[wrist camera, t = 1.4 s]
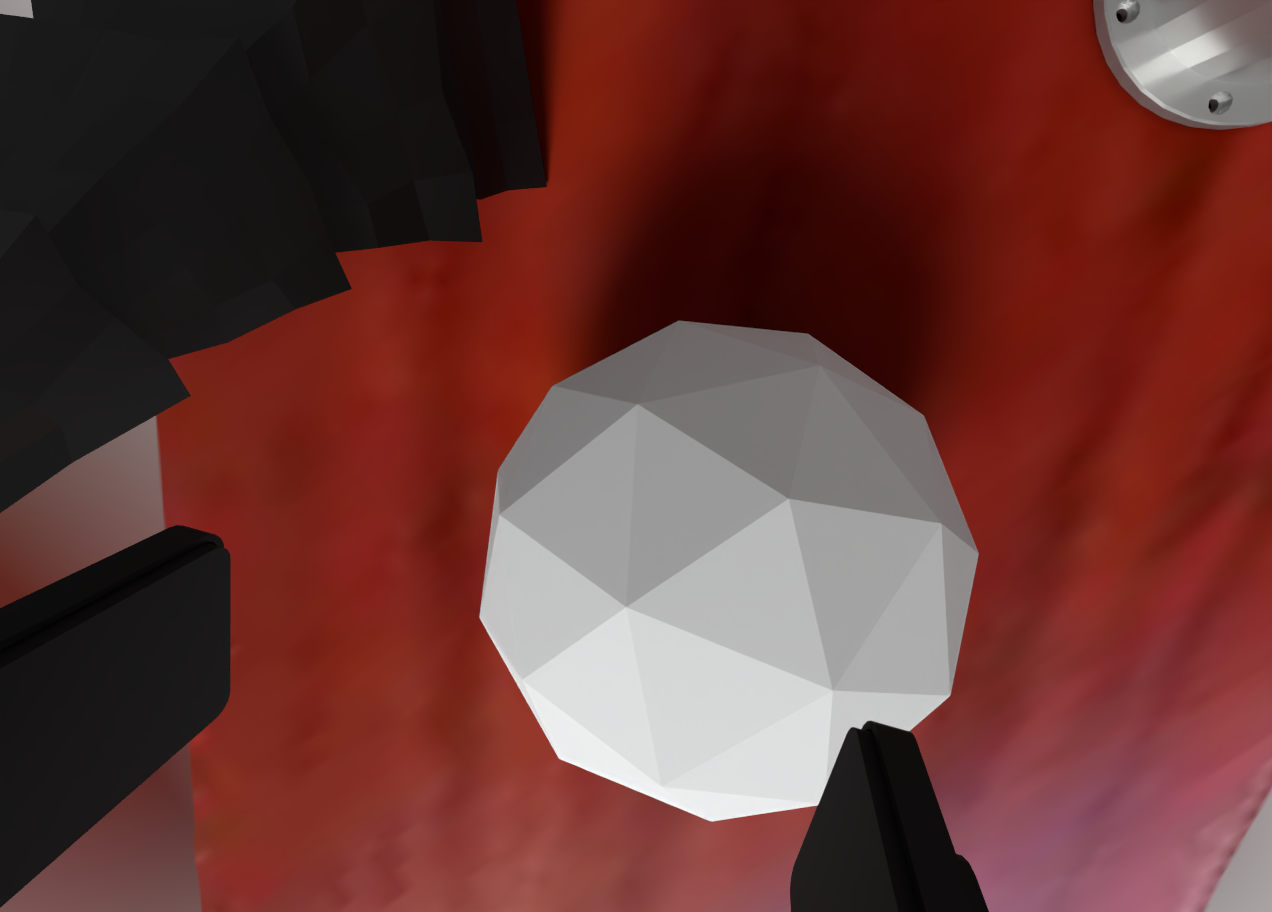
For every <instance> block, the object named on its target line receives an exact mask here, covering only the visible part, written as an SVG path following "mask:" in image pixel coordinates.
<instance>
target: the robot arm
mask: <svg viewBox="0 0 1272 912" xmlns="http://www.w3.org/2000/svg"><path fill="white" fill-rule="evenodd" d="M1093 8H1094V16H1095V24H1096V32H1097V37H1098V40H1099V43H1100V46H1101V48H1102V51H1103V54H1104V57H1105V60H1106V63H1107V64H1108V66H1109V67H1110V69H1111V71H1112V72H1113V74H1114V75H1115V77H1116V79H1117V80H1118V82H1119V83H1120V85H1121V86H1122V87H1123V88H1124V89H1125V90H1126V91H1127V92H1128V93H1129V94H1130V95H1131V96H1132V97H1133V98H1134V99H1135V100H1136V101H1137V102H1138V103H1139V104H1140V105H1142V106H1144V107H1145V108H1147V109H1149V110H1150V111H1152V112H1154V113H1155V114H1157V115H1159V116H1161V117H1162V118H1164V119H1167V120H1171V121H1174V122H1177V123H1180V124H1183V125H1186V126H1189V127H1198V128H1208V129H1218V130H1222V129H1233V128H1244V127H1253V126H1256V125H1260V124H1264V123H1269V122H1272V0H1093ZM1116 13H1119V14H1120V15H1121V17H1122V19H1121V22H1119V21H1118V19H1117V17H1116ZM1209 103H1210V104H1211V110H1209V108H1208V106H1209ZM229 696H230V553H229V552H228V550H227V549H225V548H224V544H223V542H222V540H221V538H220V537H218V536H217V535H214V534H211V533H207V532H204V531H200V530H197V529H193V528H190V527H186V526H179V525H176V526H173V527H170V528H168V529H165V530H163V531H162V532H159V533H157V534H155V535H153V536H151V537H149V538H147V539H144V540H142V541H140V542H138V543H136V544H134V545H132V546H130V547H128V548H126V549H123V550H122V551H119V552H117V553H115V554H113V555H111V556H109V557H107V558H105V559H103V560H101V561H98V562H96V563H94V564H92V565H90V566H88V567H86V568H84V569H82V570H79V571H77V572H75V573H73V574H71V575H69V576H67V577H65V578H63V579H61V580H58V581H56V582H55V583H52V584H50V585H48V586H46V587H44V588H42V589H40V590H38V591H35V592H33V593H31V594H30V595H27V596H25V597H23V598H21V599H19V600H16V601H14V602H13V603H10V604H8V605H6V606H4V607H2V608H0V907H2V906H3V905H4V904H5V903H6V902H7V901H8V900H9V899H11V898H12V897H13V896H14V895H15V894H16V893H18V892H19V891H20V890H21V889H22V888H23V887H24V886H25V885H27V884H28V883H29V882H30V881H31V880H32V879H33V878H35V877H36V876H37V875H38V874H39V873H40V872H41V871H42V870H44V869H45V868H46V867H47V866H48V865H49V864H50V863H52V862H53V861H54V860H55V859H56V858H57V857H59V856H60V855H61V854H62V853H63V852H64V851H65V850H66V849H67V848H69V847H70V846H71V845H72V844H73V843H74V842H75V841H77V840H78V839H79V838H80V837H81V836H82V835H84V833H86V832H87V831H88V830H89V829H90V828H92V826H94V825H95V824H96V823H97V822H98V821H100V820H101V819H102V818H103V817H104V816H105V815H106V814H107V813H109V812H110V811H111V810H112V809H113V808H114V807H115V806H117V805H118V804H119V803H120V802H121V801H122V800H123V799H125V798H126V797H127V796H128V795H129V794H130V793H131V792H133V791H134V790H135V789H136V788H137V787H138V786H139V785H141V784H142V783H143V782H144V781H145V780H146V779H147V778H148V777H150V776H151V775H152V774H153V773H154V772H155V771H156V770H158V769H159V768H160V767H161V766H162V765H163V764H164V763H166V762H167V761H168V760H169V759H170V758H171V757H172V756H173V755H175V754H176V753H177V752H178V751H179V750H180V749H181V748H183V747H184V746H185V745H186V744H187V743H188V742H189V741H191V740H192V739H193V738H194V737H195V736H196V735H197V734H199V733H200V732H201V731H202V730H203V729H204V728H205V727H207V726H208V725H209V724H210V723H211V722H212V721H213V720H215V719H216V718H217V717H218V716H219V714H220V713H221V712H222V710H223V709H224V707H225V706H226V704H227V702H228V699H229ZM790 900H791V912H989V911H988V908H987V905H986V903H985V900H984V897H983V895H982V892H981V889H980V886H979V884H978V881H977V878H976V876H975V874H974V872H973V870H972V868H971V866H970V864H969V862H968V861H967V860H966V859H965V858H964V857H963V856H961V855H958V854H956V853H955V850H954V847H953V844H952V841H951V839H950V836H949V833H948V830H947V827H946V824H945V821H944V819H943V816H942V813H941V810H940V807H939V804H938V801H937V798H936V796H935V793H934V790H933V787H932V784H931V781H930V778H929V776H928V773H927V770H926V767H925V764H924V761H923V758H922V756H921V753H920V750H919V747H918V744H917V741H916V739H915V737H914V735H913V734H912V733H911V732H909V731H906V730H902V729H899V728H895V727H892V726H888V725H885V724H881V723H878V722H874V721H867V722H866V723H865V724H864V725H863V727H862V729H859V728H855V727H851V728H850V729H849V730H848V732H847V734H846V737H845V739H844V742H843V744H842V747H841V749H840V752H839V754H838V757H837V759H836V762H835V764H834V767H833V769H832V772H831V774H830V777H829V779H828V782H827V784H826V787H825V789H824V792H823V794H822V797H821V799H820V802H819V804H818V807H817V809H816V812H815V814H814V817H813V819H812V822H811V824H810V827H809V829H808V832H807V834H806V837H805V839H804V842H803V844H802V847H801V849H800V852H799V854H798V857H797V859H796V862H795V864H794V867H793V872H792V877H791V885H790Z"/></svg>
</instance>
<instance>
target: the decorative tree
mask: <svg viewBox="0 0 1272 912" xmlns="http://www.w3.org/2000/svg"><path fill="white" fill-rule="evenodd" d="M31 3H32V11H33V18H26V17H20V16H11V15H4V14H0V513H1V512H2V511H4V510H5V509H7V508H8V507H10V506H11V505H12V504H14V503H15V502H17V501H18V500H20V499H21V498H22V497H24V496H25V495H27V494H28V493H29V492H31V491H32V490H34V489H35V488H37V487H38V486H40V485H41V484H42V483H44V482H45V481H47V480H48V479H50V478H51V477H52V476H54V475H55V474H57V473H58V472H60V471H61V470H62V469H64V468H65V467H67V466H68V465H69V464H71V463H72V462H74V461H76V460H78V459H80V458H81V457H83V456H85V455H86V454H88V453H90V452H92V451H94V450H95V449H97V448H99V447H100V446H103V445H104V444H106V443H108V442H109V441H111V440H113V439H115V438H117V437H118V436H120V435H122V434H124V433H125V432H127V431H129V430H131V429H133V428H134V427H136V426H138V425H140V424H141V423H143V422H145V421H147V420H149V419H150V418H152V417H154V416H156V415H157V414H159V413H161V412H163V411H164V410H166V409H168V408H170V407H172V406H173V405H175V404H177V403H179V402H180V401H182V400H184V399H186V398H187V397H189V396H191V395H190V394H189V392H188V391H187V389H186V387H185V386H184V384H183V383H182V381H181V379H180V378H179V376H178V374H177V373H176V371H175V370H174V368H173V366H172V365H171V363H170V362H169V360H168V359H170V358H174V357H177V356H181V355H184V354H188V353H192V352H195V351H199V350H202V349H206V348H210V347H213V346H217V345H220V344H224V343H228V342H230V341H232V340H234V339H236V338H238V337H240V336H242V335H244V334H246V333H248V332H250V331H252V330H254V329H256V328H258V327H260V326H262V325H264V324H266V323H269V322H271V321H273V320H275V319H277V318H279V317H281V316H283V315H285V314H287V313H289V312H291V311H293V310H295V309H298V308H300V307H303V306H306V305H309V304H311V303H314V302H317V301H320V300H322V299H325V298H328V297H331V296H333V295H336V294H339V293H342V292H344V291H347V290H350V289H351V286H350V284H349V282H348V280H347V278H346V275H345V273H344V271H343V269H342V267H341V265H340V262H339V260H338V258H337V256H336V254H335V253H336V252H345V251H354V250H363V249H372V248H381V247H388V246H395V245H401V244H408V243H415V242H422V241H429V240H432V241H463V242H482V236H481V229H480V222H479V215H478V208H477V201H476V199H479V200H481V199H484V198H487V197H490V196H493V195H495V194H498V193H501V192H504V191H507V190H517V189H528V188H540V187H547V186H546V180H545V174H544V168H543V162H542V157H541V151H540V145H539V139H538V133H537V127H536V121H535V115H534V109H533V102H532V96H531V90H530V83H529V77H528V71H527V64H526V58H525V51H524V45H523V39H522V32H521V26H520V20H519V14H518V9H517V4H516V0H31Z"/></svg>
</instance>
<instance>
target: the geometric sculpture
mask: <svg viewBox="0 0 1272 912" xmlns="http://www.w3.org/2000/svg"><path fill="white" fill-rule="evenodd" d="M978 555H979V553H978V551H977V548H976V546H975V543H974V541H973V538H972V536H971V533H970V531H969V528H968V526H967V523H966V520H965V518H964V515H963V513H962V510H961V508H960V505H959V503H958V500H957V498H956V495H955V493H954V490H953V488H952V485H951V483H950V480H949V478H948V475H947V473H946V470H945V467H944V465H943V462H942V460H941V457H940V455H939V452H938V450H937V447H936V445H935V442H934V440H933V437H932V435H931V432H930V430H929V427H928V425H927V422H926V420H925V417H924V415H922V414H921V413H920V412H918V411H917V410H915V409H914V408H913V407H911V406H910V405H908V404H907V403H905V402H904V401H903V400H901V399H900V398H898V397H897V396H896V395H894V394H893V393H891V392H890V391H888V390H887V389H886V388H884V387H883V386H881V385H880V384H879V383H877V382H876V381H874V380H873V379H871V378H870V377H869V376H867V375H866V374H864V373H863V372H862V371H860V370H859V369H857V368H856V367H854V366H853V365H852V364H850V363H849V362H847V361H846V360H845V359H843V358H842V357H840V356H839V355H837V354H836V353H835V352H833V351H832V350H830V349H829V348H828V347H826V346H825V345H823V344H822V343H821V342H819V341H818V340H816V339H815V338H813V337H812V336H811V335H809V334H805V333H796V332H786V331H776V330H766V329H756V328H747V327H737V326H727V325H717V324H708V323H698V322H688V321H677V322H675V323H673V324H671V325H669V326H667V327H665V328H663V329H661V330H660V331H658V332H656V333H654V334H652V335H650V336H648V337H646V338H644V339H642V340H640V341H638V342H636V343H634V344H632V345H630V346H629V347H627V348H625V349H623V350H621V351H619V352H617V353H615V354H613V355H611V356H609V357H607V358H605V359H603V360H601V361H600V362H598V363H596V364H594V365H592V366H590V367H588V368H586V369H584V370H582V371H580V372H578V373H576V374H574V375H572V376H571V377H569V378H567V379H565V380H563V381H561V382H559V383H557V384H555V385H553V386H552V387H551V389H550V390H549V392H548V393H547V395H546V397H545V398H544V400H543V401H542V403H541V404H540V406H539V407H538V409H537V411H536V412H535V414H534V415H533V417H532V418H531V420H530V421H529V423H528V425H527V426H526V428H525V429H524V431H523V432H522V434H521V435H520V437H519V438H518V440H517V442H516V443H515V445H514V446H513V448H512V449H511V451H510V452H509V454H508V456H507V457H506V459H505V460H504V462H503V463H502V465H501V466H500V468H499V470H498V475H497V483H496V491H495V499H494V507H493V514H492V522H491V530H490V538H489V546H488V554H487V562H486V570H485V578H484V586H483V593H482V601H481V609H480V617H479V618H480V619H481V621H482V623H483V625H484V626H485V628H486V630H487V632H488V634H489V635H490V637H491V639H492V641H493V642H494V644H495V646H496V648H497V650H498V651H499V653H500V655H501V657H502V658H503V660H504V662H505V664H506V665H507V667H508V669H509V671H510V673H511V674H512V676H513V678H514V680H515V681H516V683H517V685H518V687H519V688H520V690H521V692H522V694H523V696H524V697H525V699H526V701H527V703H528V704H529V706H530V708H531V710H532V712H533V713H534V715H535V717H536V719H537V720H538V722H539V724H540V726H541V727H542V729H543V731H544V733H545V735H546V736H547V738H548V740H549V742H550V743H551V745H552V747H553V749H554V750H555V752H556V754H557V756H558V758H559V759H561V760H564V761H566V762H568V763H571V764H573V765H576V766H578V767H581V768H583V769H585V770H588V771H590V772H593V773H595V774H597V775H600V776H602V777H605V778H607V779H610V780H612V781H614V782H617V783H619V784H622V785H624V786H626V787H629V788H631V789H634V790H636V791H639V792H641V793H643V794H646V795H648V796H651V797H653V798H655V799H658V800H660V801H663V802H665V803H668V804H670V805H672V806H675V807H677V808H680V809H682V810H684V811H687V812H689V813H692V814H694V815H697V816H699V817H701V818H704V819H706V820H709V821H717V820H724V819H730V818H737V817H744V816H750V815H757V814H763V813H770V812H776V811H783V810H790V809H796V808H803V807H809V806H816V805H818V804H819V802H820V799H821V797H822V794H823V792H824V789H825V787H826V784H827V782H828V779H829V777H830V774H831V772H832V769H833V767H834V764H835V762H836V759H837V757H838V754H839V752H840V749H841V747H842V744H843V742H844V739H845V737H846V734H847V732H848V730H849V729H850V728H851V727H855V728H859V729H862V727H863V725H864V724H865V723H866V722H867V721H874V722H878V723H881V724H885V725H888V726H892V727H895V728H899V729H902V730H906V731H910V730H911V729H912V728H913V727H915V726H916V725H917V724H918V723H919V722H920V721H922V720H923V719H924V718H925V717H926V716H927V715H929V714H930V713H931V712H932V711H933V710H934V709H936V708H937V707H938V706H939V705H940V704H941V703H942V702H944V701H945V700H946V699H947V698H948V697H949V696H950V695H951V690H952V685H953V680H954V675H955V670H956V665H957V660H958V655H959V650H960V645H961V640H962V635H963V630H964V625H965V620H966V615H967V610H968V605H969V600H970V595H971V590H972V585H973V580H974V575H975V570H976V565H977V560H978Z"/></svg>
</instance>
